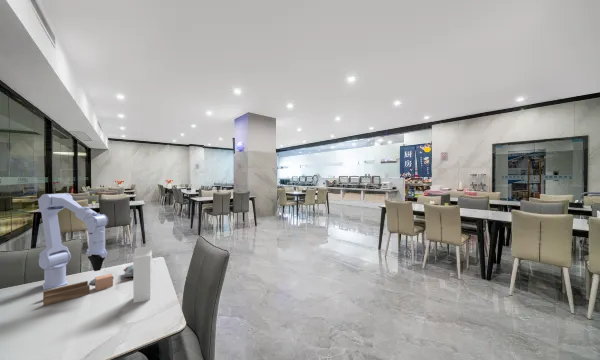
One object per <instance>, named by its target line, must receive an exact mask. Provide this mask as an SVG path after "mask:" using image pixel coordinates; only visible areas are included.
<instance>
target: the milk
mask: <svg viewBox="0 0 600 360" xmlns="http://www.w3.org/2000/svg"><path fill="white" fill-rule="evenodd" d="M132 259H133V261H132V265H133V276H132V277H133V280H132V281H133V282H132V283H133V290H132V291H133V295H132V296H133V304H134V303H140V302H145V301H150V300H151V299H152V295H153V251H152V246H145V247H144V246H143V247H135V248H134V253H133V257H132Z"/></svg>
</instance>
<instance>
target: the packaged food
mask: <svg viewBox="0 0 600 360" xmlns="http://www.w3.org/2000/svg"><path fill="white" fill-rule="evenodd" d="M123 272H124V273H123V274H122V277H125V278H131V277H133V264H132V265H128V266H126V267H125V268H124V269H123Z"/></svg>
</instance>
